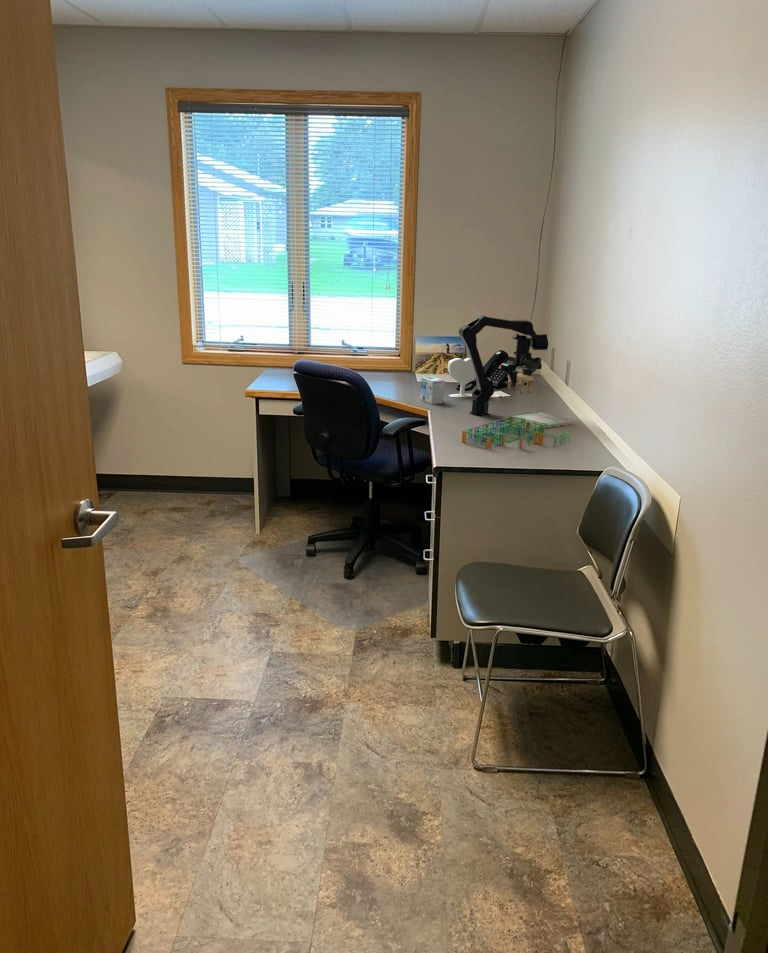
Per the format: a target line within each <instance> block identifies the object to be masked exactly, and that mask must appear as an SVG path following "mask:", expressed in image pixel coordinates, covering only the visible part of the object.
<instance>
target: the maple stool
mask: <svg viewBox="0 0 768 953" xmlns="http://www.w3.org/2000/svg"><path fill="white" fill-rule="evenodd" d="M507 378H508V379H507V380H508V381H507V391H511V390H512V389H511V388H512V382H511V379H510V376H509V374H508V373H507ZM533 381H534V376H532V375H531V376H527V375H523V373H518V374H517V378H516V385H515V387H514V388H515V389H514V390H516V391H517V390H519V387H520V390H519V394H520V395H524V390H525V389H524V388H525V385H524V383H527V384H528V385H527V386H528V387H527V388H528V389H527V393H528V394H532V387H533ZM519 385H520V386H519Z"/></svg>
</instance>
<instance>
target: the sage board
mask: <svg viewBox="0 0 768 953" xmlns="http://www.w3.org/2000/svg"><path fill="white" fill-rule="evenodd" d="M511 416H512V417H517V418H523V419H526V420H529V421H527V422H531V421H534V422H532V423H535V422H539V423H537V424H541V423H544V424H542V425H545V426H544V427H546V424H547V427H549V428H552V427H551V426H556V427H561V426H560V425H564V426H569V425H568V424H570V425H571V421H569V420H565V419H562V418H560V417H556V416H554V415H550V414H546V413H544V412H535V413H528V414H520V415H519V414H518V415H511ZM508 420H510V417H509V416H508ZM526 420H525V421H526ZM518 421H519V423H521V420H520V419H515V418H514V422H518ZM525 423H526V422H525ZM532 423H531V424H530V426H531V425H532V428H533V427H535V425H534V424H532ZM537 427H539V425H536V428H537Z"/></svg>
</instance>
